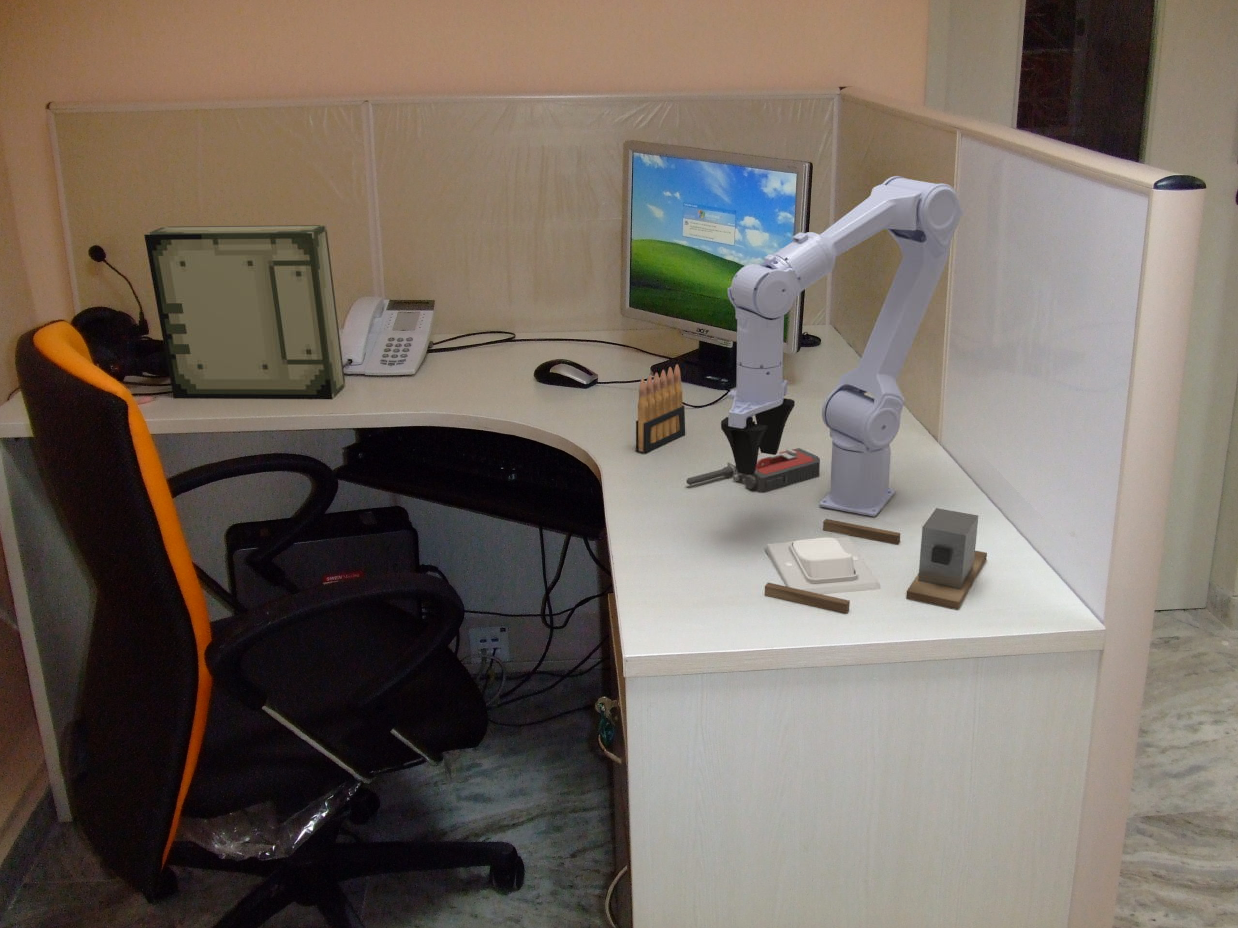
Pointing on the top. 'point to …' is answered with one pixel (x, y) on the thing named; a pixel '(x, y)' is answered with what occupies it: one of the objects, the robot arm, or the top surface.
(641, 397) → the ammunition clip
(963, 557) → the junction box
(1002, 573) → the top surface
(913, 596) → the mounting board
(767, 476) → the walkie-talkie
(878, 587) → the light switch
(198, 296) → the control panel
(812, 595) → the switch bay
